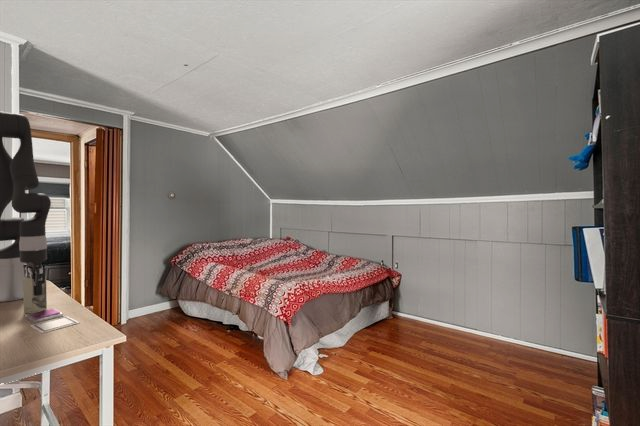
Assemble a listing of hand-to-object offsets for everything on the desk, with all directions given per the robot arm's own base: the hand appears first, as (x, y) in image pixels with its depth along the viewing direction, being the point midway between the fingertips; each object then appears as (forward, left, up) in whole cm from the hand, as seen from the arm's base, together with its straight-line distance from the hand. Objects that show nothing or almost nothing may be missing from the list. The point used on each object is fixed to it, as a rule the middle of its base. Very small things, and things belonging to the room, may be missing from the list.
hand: (35, 293), depth 119 cm
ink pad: (+10, 0, -6) cm, 12 cm away
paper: (+21, -1, -6) cm, 22 cm away
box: (0, 0, -7) cm, 7 cm away
